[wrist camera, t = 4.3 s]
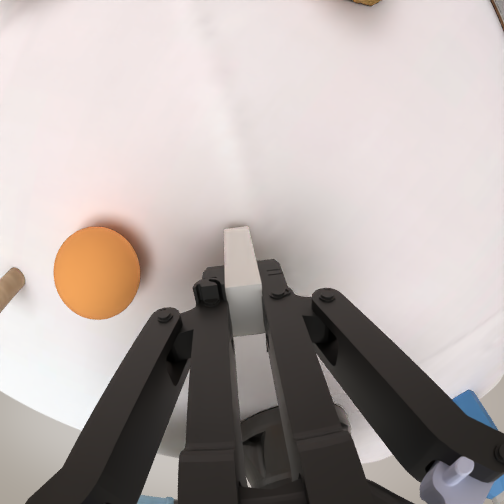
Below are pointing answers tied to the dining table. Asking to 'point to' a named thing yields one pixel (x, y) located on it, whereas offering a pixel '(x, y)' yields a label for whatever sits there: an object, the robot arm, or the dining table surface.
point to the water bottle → (473, 408)
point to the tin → (499, 10)
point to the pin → (10, 286)
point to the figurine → (367, 2)
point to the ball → (96, 273)
